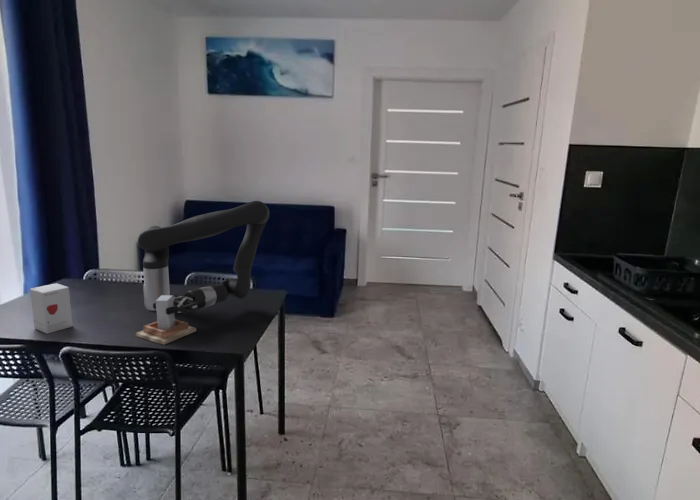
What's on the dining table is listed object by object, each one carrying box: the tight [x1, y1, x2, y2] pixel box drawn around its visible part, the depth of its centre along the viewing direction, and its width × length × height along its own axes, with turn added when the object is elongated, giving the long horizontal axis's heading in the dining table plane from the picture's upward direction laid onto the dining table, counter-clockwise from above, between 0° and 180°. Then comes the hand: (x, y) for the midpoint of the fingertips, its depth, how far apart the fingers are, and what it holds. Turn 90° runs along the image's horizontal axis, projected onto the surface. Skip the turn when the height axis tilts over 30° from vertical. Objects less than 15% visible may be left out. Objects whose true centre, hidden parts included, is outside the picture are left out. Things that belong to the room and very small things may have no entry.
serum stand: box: [135, 318, 197, 345], centre depth 159 cm, size 14×14×3 cm
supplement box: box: [29, 282, 73, 334], centre depth 161 cm, size 9×9×15 cm
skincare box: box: [155, 294, 176, 330], centre depth 158 cm, size 6×4×12 cm
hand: (159, 308), depth 156 cm, fingers open, 8 cm apart
